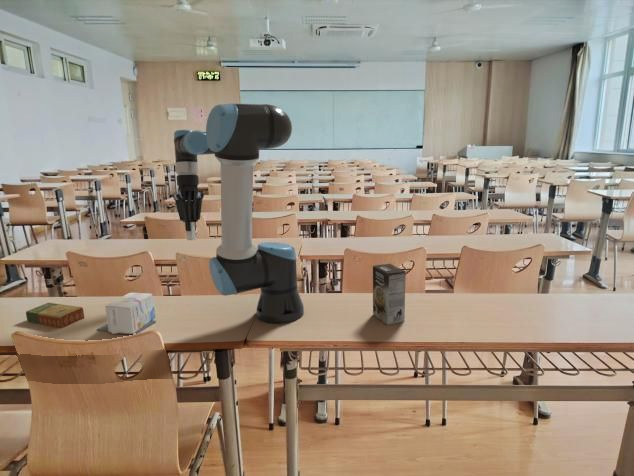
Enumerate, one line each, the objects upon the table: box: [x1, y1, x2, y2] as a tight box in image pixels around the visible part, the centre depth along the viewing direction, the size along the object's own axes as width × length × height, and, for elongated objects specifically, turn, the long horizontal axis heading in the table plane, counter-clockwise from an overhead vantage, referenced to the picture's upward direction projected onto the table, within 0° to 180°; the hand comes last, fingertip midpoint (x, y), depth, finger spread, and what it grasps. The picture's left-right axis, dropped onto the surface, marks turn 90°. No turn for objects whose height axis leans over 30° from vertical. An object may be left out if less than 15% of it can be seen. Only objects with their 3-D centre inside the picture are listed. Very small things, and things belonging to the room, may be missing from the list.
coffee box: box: [372, 263, 407, 326], centre depth 129 cm, size 9×6×16 cm
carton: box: [25, 302, 85, 329], centre depth 138 cm, size 8×16×4 cm, turn 69°
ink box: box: [105, 292, 156, 335], centre depth 129 cm, size 9×8×13 cm
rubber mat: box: [96, 320, 156, 335], centre depth 131 cm, size 14×9×1 cm
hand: (191, 240), depth 154 cm, fingers closed
